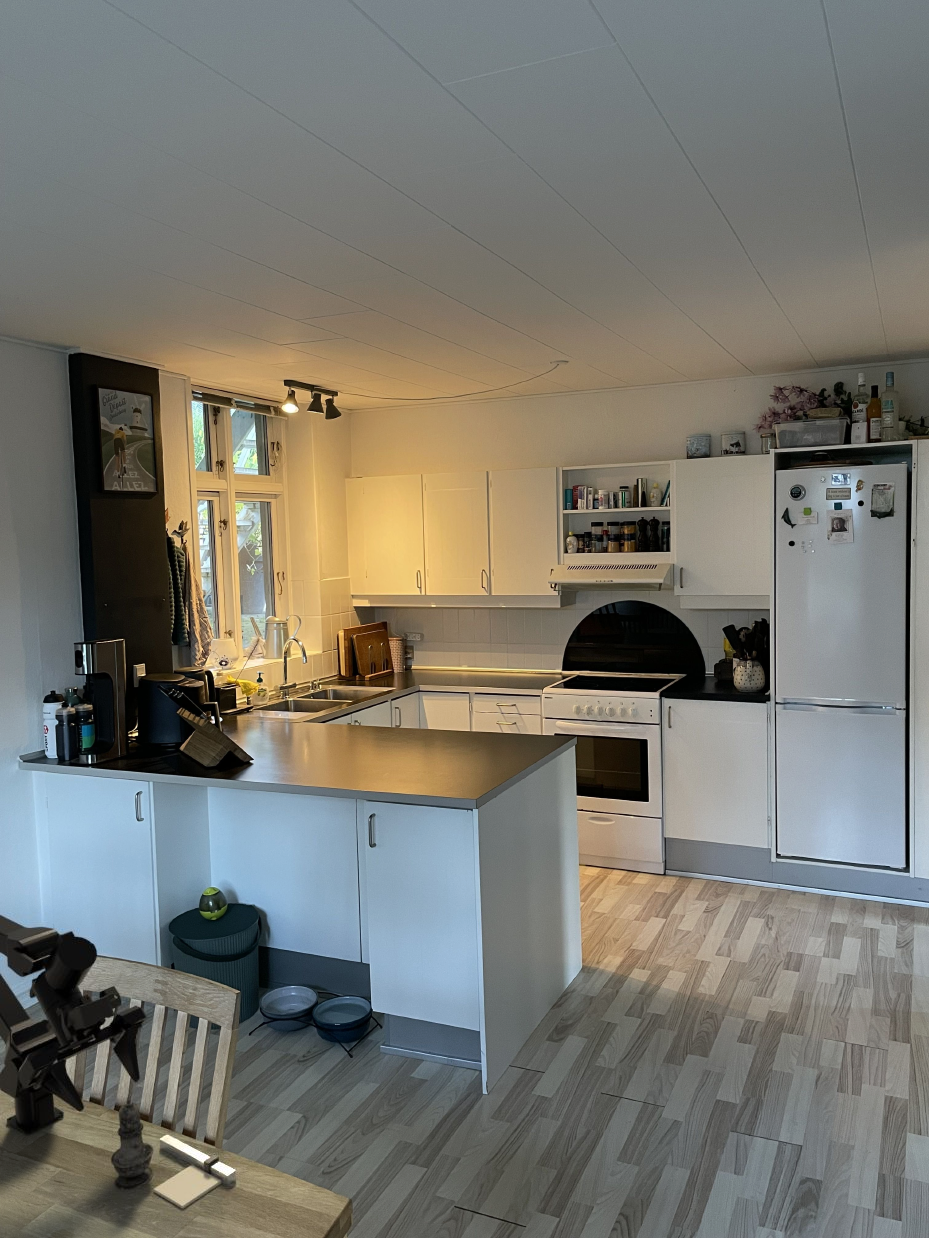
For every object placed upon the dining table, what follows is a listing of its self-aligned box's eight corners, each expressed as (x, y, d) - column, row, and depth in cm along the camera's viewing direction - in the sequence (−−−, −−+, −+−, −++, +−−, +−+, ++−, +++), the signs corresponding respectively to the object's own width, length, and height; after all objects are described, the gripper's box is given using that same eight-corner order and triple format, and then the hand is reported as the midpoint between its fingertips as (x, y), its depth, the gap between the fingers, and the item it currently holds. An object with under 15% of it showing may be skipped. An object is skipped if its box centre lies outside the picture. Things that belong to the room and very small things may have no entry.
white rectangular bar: (158, 1148, 149) (157, 1136, 149) (169, 1142, 151) (168, 1130, 150) (226, 1185, 139) (226, 1172, 139) (237, 1178, 141) (236, 1165, 141)
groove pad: (153, 1191, 139) (153, 1188, 139) (192, 1167, 144) (192, 1164, 144) (182, 1208, 135) (182, 1205, 135) (221, 1182, 140) (220, 1180, 140)
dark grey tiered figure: (103, 1184, 141) (97, 1104, 140) (134, 1161, 146) (129, 1083, 145) (133, 1195, 138) (127, 1113, 137) (163, 1171, 143) (158, 1092, 143)
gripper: (21, 1000, 139) (70, 1098, 133) (136, 954, 154) (184, 1040, 148) (-2, 1040, 144) (44, 1136, 138) (110, 991, 159) (156, 1076, 153)
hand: (110, 1094), depth 144 cm, fingers open, 9 cm apart
